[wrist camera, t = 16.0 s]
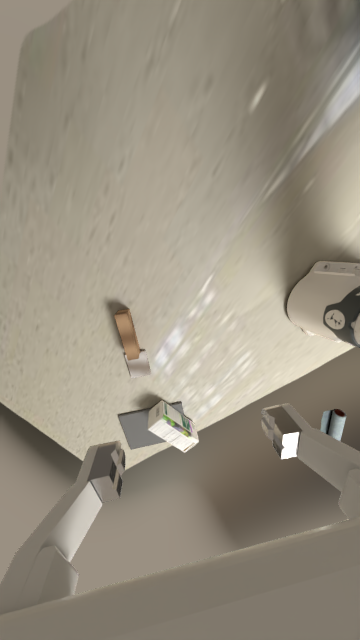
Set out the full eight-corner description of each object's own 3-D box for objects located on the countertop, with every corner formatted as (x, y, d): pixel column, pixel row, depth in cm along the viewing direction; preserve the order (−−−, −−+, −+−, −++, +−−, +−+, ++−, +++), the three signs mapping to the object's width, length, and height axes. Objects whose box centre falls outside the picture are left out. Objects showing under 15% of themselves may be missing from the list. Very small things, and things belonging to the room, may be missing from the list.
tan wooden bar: (112, 311, 38) (108, 316, 35) (134, 307, 38) (132, 312, 35) (132, 376, 44) (130, 386, 41) (151, 372, 45) (150, 381, 41)
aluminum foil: (329, 449, 67) (338, 459, 64) (314, 453, 67) (322, 463, 64) (339, 407, 59) (349, 415, 56) (321, 411, 59) (330, 420, 56)
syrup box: (162, 398, 47) (196, 422, 52) (147, 411, 48) (182, 434, 53) (162, 416, 42) (200, 441, 47) (146, 430, 43) (185, 453, 47)
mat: (181, 401, 49) (181, 403, 49) (187, 434, 54) (187, 436, 53) (118, 414, 48) (118, 416, 47) (131, 447, 53) (130, 449, 52)
